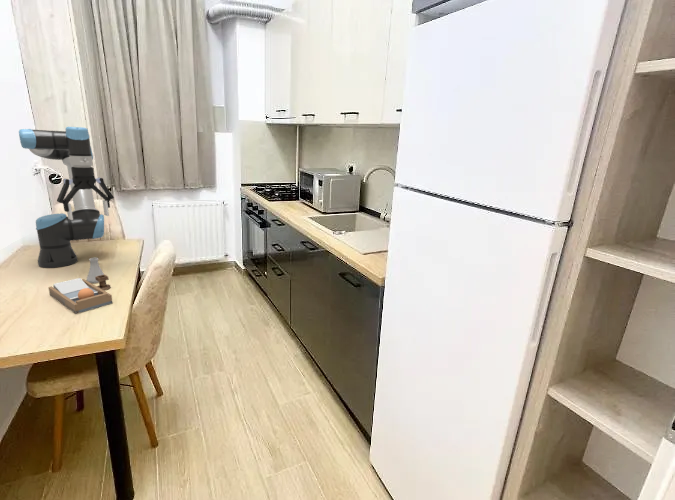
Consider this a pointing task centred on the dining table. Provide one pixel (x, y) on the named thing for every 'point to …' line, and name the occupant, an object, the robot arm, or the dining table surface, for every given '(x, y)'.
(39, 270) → the dining table surface
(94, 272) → the flask
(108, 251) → the dining table surface
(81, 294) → the ball
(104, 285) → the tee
